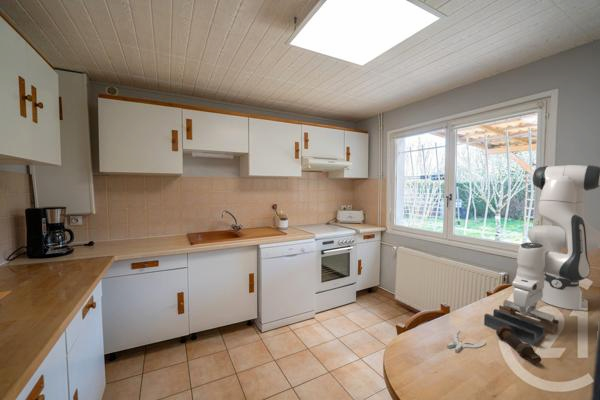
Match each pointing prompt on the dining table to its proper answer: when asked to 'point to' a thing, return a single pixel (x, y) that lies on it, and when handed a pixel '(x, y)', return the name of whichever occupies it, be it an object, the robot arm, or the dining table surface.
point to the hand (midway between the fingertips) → (528, 312)
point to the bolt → (518, 344)
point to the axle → (530, 312)
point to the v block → (516, 326)
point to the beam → (549, 327)
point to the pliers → (459, 345)
